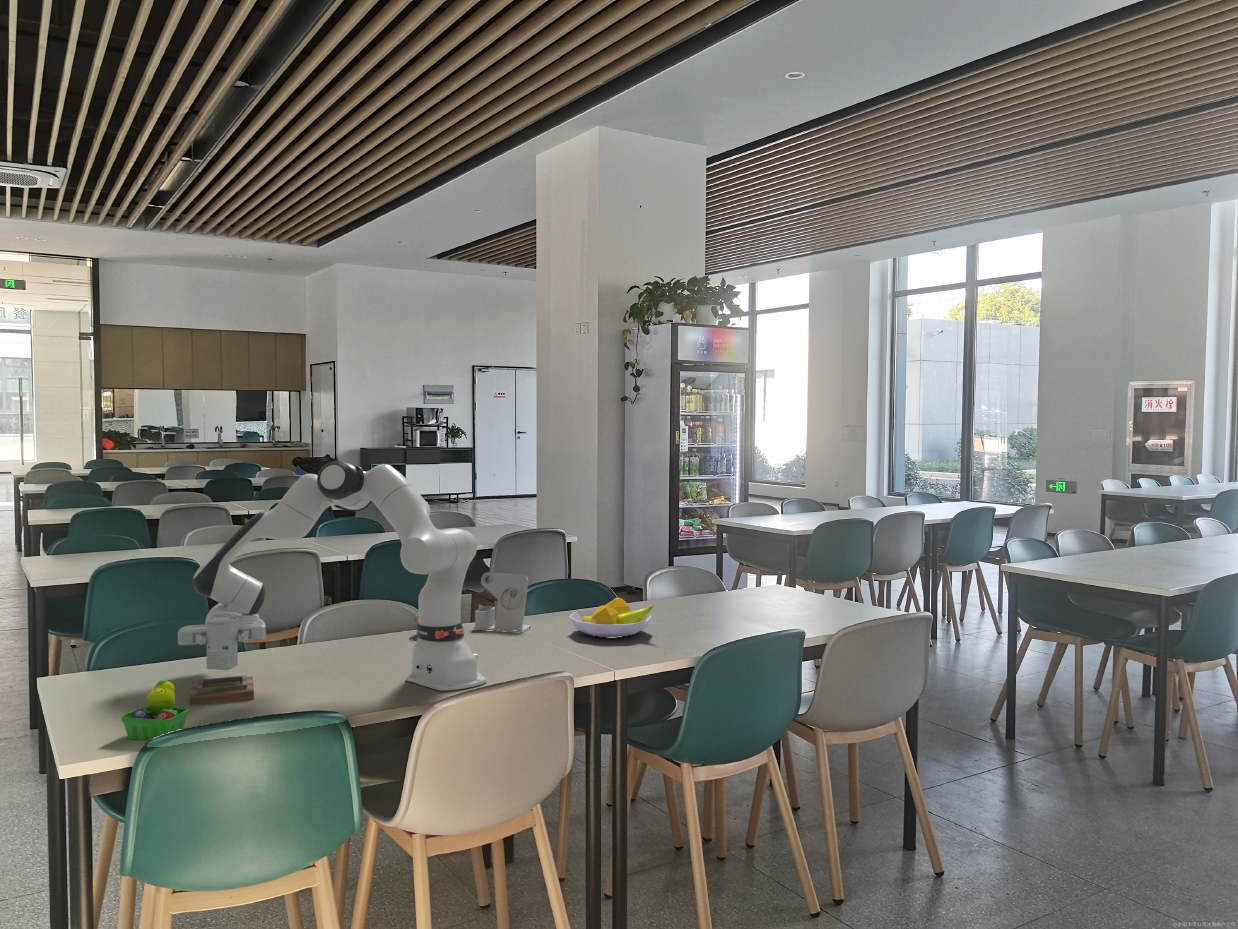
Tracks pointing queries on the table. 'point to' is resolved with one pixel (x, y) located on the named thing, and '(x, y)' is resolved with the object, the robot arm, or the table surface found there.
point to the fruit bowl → (612, 619)
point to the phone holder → (504, 603)
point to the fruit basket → (155, 714)
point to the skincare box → (222, 643)
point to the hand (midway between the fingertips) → (222, 640)
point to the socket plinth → (222, 690)
